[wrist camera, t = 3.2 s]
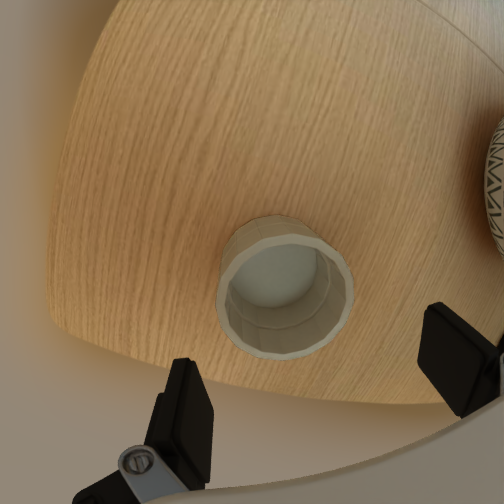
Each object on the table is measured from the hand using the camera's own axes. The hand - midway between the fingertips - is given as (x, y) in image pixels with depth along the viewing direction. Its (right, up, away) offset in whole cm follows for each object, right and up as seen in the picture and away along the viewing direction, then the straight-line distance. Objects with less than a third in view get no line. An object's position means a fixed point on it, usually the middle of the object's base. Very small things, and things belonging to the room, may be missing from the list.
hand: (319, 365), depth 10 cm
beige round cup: (-1, +3, +10) cm, 11 cm away
